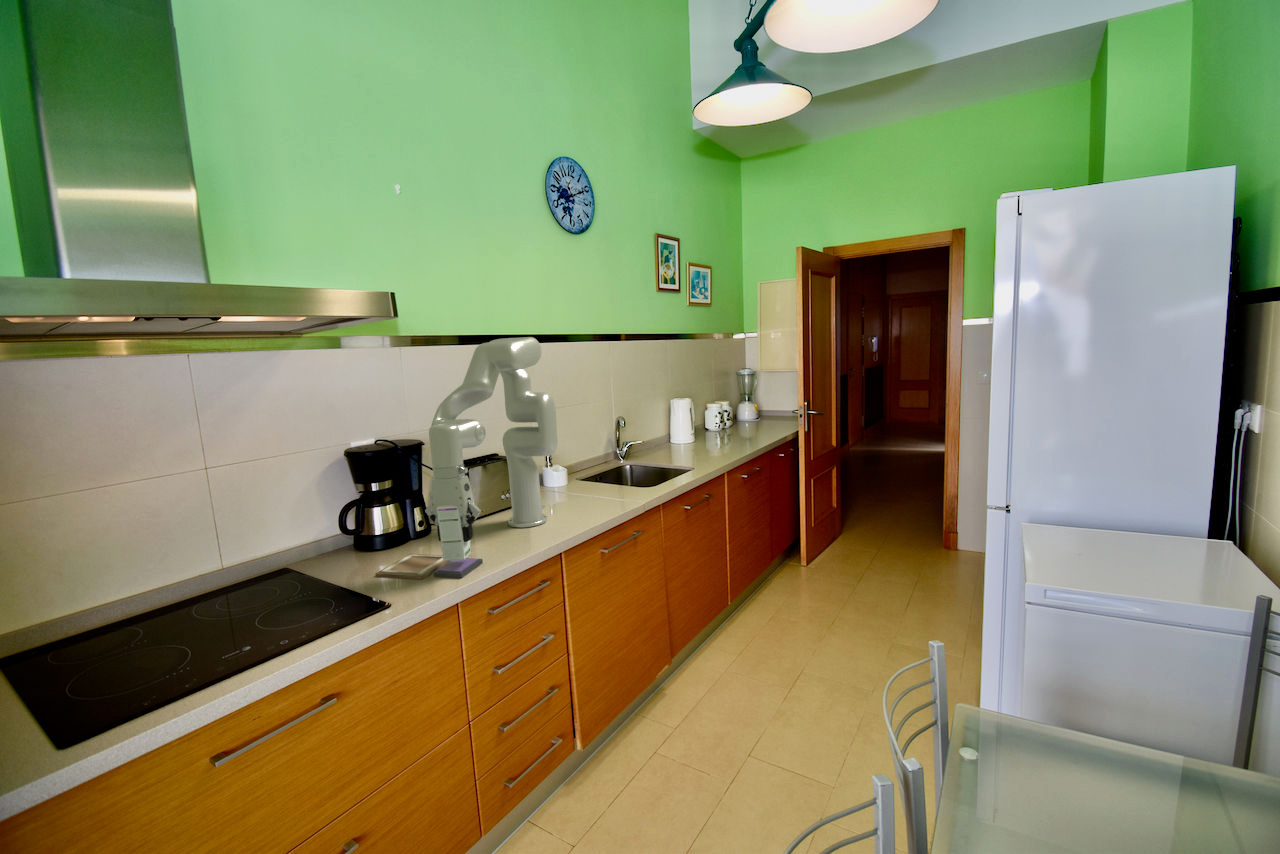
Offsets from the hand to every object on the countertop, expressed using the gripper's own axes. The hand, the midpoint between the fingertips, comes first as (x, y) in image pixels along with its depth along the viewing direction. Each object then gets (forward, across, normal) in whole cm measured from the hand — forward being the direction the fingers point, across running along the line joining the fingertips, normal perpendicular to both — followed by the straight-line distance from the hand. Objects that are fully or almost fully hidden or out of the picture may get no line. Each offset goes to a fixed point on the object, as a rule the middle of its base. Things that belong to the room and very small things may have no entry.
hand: (455, 539), depth 145 cm
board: (+8, +13, 0) cm, 15 cm away
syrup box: (+5, 0, 0) cm, 5 cm away
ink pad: (+8, 0, 0) cm, 8 cm away
